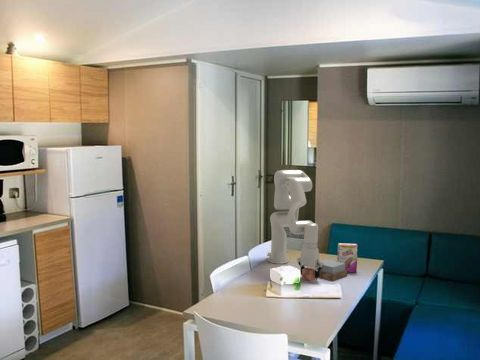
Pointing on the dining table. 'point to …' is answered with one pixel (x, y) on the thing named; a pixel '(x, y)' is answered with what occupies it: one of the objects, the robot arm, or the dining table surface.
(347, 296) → the dining table surface
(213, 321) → the dining table surface
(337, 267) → the grey top slab
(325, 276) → the walnut base slab
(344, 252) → the candy bar box
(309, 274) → the brick-red cube
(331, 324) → the dining table surface
